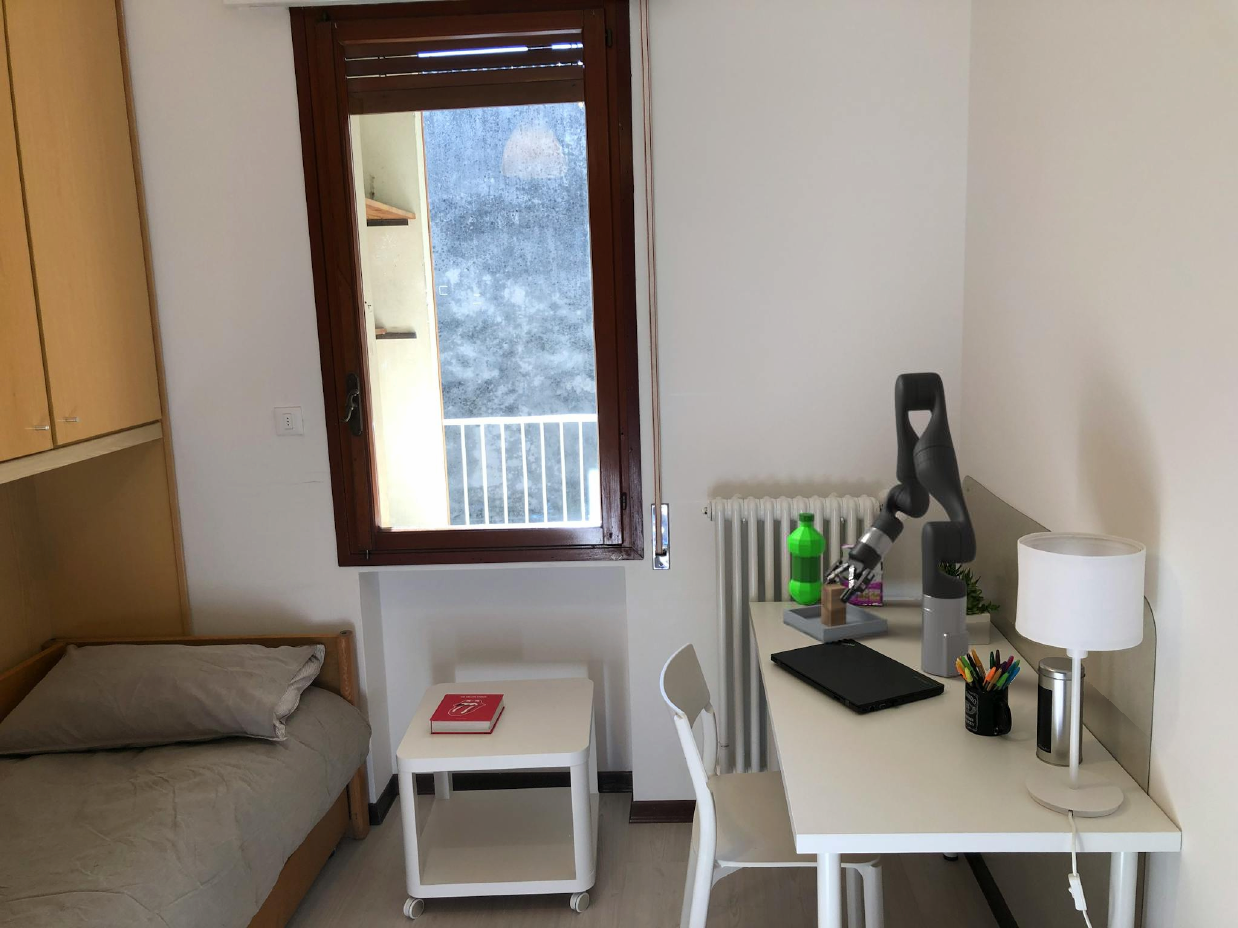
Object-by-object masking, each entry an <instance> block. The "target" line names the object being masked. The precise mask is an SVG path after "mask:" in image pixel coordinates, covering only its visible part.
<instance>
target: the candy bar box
mask: <svg viewBox="0 0 1238 928" xmlns="http://www.w3.org/2000/svg"><path fill="white" fill-rule="evenodd" d="M855 544H856V543H853V544H851V543H850V544H849V543H842V546H841V560H842V561H843V562H846V561H847V560H848V559H849V556H848V553H849V551H850V550H851V549H852V548H853V546H854V545H855ZM872 572H873V573H874V574H875V577H874V578H873V580H872V581H871V583H870V584H869V585H868V587H867V588H866V590H865V591H864V592H863V593H860V592H858V593H856V594H854V595H853V596H852V598H851V599H850V600H849V601H848V602H847V603H849V604H851V605H854V606H864V605H863V604H867V605H869V604H871V605H872V604H873V603H878V604H884V557H883V558H882V560H881V561H880V562H879V563H878V565H877V566H876V567H875V569H874V570H873V571H872ZM849 583H850V581H846V580H845V581H844V582H841V585H842V586H844V587H846V588H849ZM863 585H864V583H862V584H861V587H862V586H863Z"/></svg>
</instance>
